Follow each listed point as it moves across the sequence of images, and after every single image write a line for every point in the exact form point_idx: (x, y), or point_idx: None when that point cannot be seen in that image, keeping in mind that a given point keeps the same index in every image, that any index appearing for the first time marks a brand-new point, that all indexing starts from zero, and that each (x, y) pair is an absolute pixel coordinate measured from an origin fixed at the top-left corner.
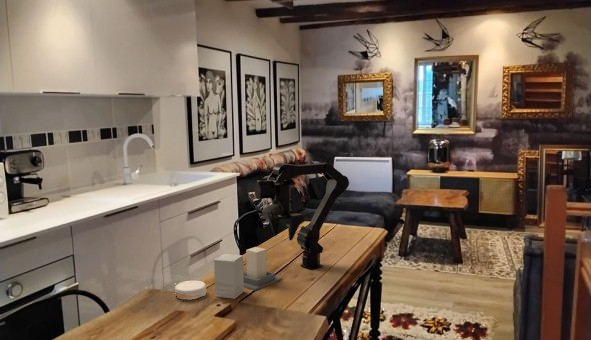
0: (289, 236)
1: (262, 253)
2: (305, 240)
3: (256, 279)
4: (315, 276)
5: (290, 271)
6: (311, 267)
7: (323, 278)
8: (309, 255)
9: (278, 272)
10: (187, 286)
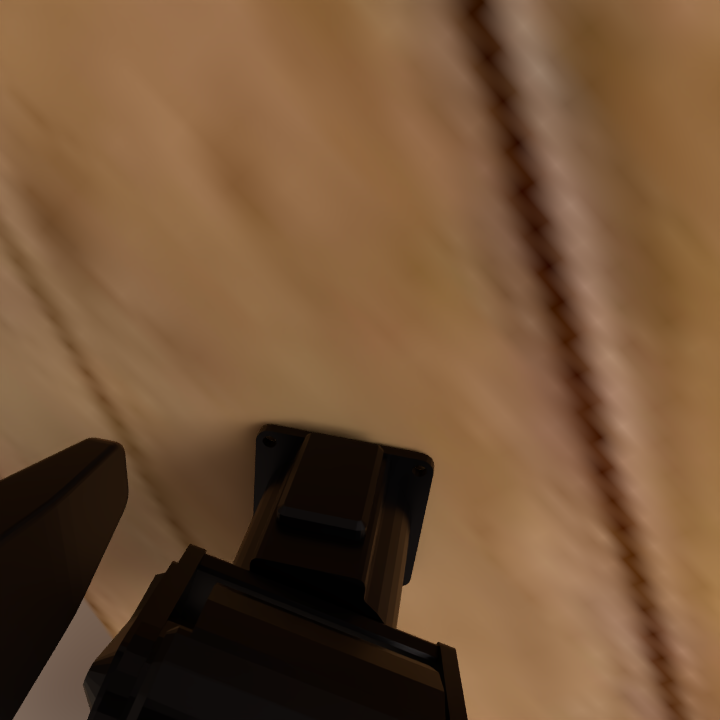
0: (5, 497)
1: None
2: (146, 689)
3: None
4: (96, 305)
5: (401, 268)
6: (282, 458)
7: (6, 306)
8: (259, 545)
9: (499, 142)
10: None
